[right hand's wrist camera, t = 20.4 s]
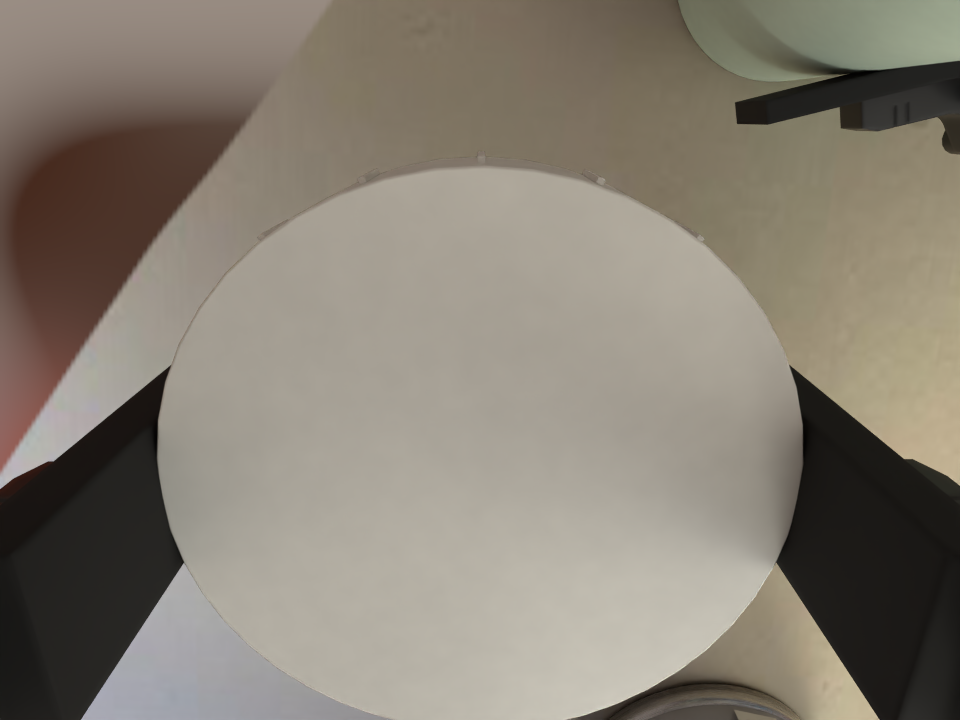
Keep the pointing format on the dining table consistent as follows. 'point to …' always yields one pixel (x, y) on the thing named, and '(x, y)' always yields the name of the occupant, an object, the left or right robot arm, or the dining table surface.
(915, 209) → the dining table surface
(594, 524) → the lid
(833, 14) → the jar
